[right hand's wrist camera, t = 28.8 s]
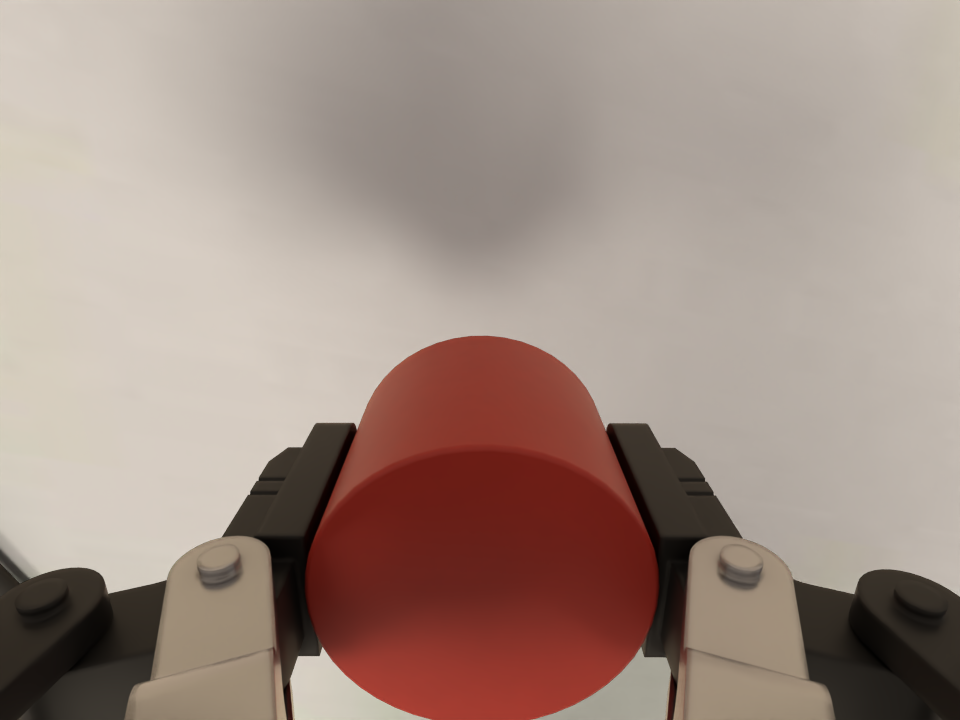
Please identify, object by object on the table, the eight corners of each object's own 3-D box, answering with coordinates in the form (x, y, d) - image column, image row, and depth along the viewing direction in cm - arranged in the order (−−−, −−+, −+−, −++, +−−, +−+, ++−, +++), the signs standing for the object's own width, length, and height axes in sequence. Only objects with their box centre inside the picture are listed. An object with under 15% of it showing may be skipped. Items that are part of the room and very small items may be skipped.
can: (363, 542, 13) (312, 722, 9) (356, 328, 11) (290, 438, 7) (587, 551, 13) (633, 732, 9) (617, 340, 11) (690, 455, 8)
